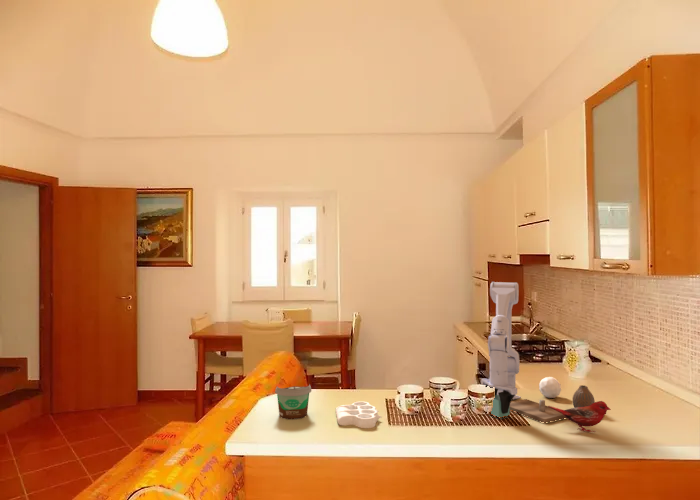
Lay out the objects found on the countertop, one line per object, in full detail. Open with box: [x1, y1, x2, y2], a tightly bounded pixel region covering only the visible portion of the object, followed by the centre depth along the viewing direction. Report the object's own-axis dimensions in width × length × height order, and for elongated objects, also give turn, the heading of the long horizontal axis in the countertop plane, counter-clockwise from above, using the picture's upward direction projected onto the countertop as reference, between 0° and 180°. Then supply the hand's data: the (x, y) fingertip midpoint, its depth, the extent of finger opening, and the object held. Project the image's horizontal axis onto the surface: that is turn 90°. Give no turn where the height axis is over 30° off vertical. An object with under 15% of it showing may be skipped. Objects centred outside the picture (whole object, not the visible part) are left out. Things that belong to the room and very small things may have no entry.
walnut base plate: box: [510, 399, 566, 424], centre depth 167 cm, size 18×12×5 cm, turn 29°
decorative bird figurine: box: [547, 400, 611, 433], centre depth 151 cm, size 3×18×10 cm, turn 61°
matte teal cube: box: [491, 395, 511, 417], centre depth 165 cm, size 5×5×6 cm
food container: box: [274, 383, 312, 420], centre depth 162 cm, size 12×6×10 cm, turn 105°
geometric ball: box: [538, 376, 562, 399], centre depth 186 cm, size 8×8×8 cm
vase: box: [572, 384, 596, 408], centre depth 169 cm, size 7×7×9 cm
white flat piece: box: [335, 401, 382, 429], centre depth 161 cm, size 3×18×15 cm
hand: (498, 410), depth 165 cm, fingers closed on matte teal cube, 5 cm apart
